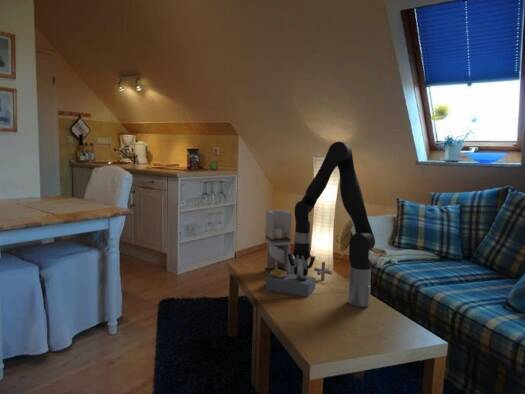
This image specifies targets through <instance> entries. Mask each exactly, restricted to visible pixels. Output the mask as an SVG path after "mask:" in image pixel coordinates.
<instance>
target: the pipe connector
mask: <svg viewBox="0 0 525 394" xmlns="http://www.w3.org/2000/svg"><path fill="white" fill-rule="evenodd" d="M313 271H315V272H317V273H316V275H317V276H320V281H322V282H325V277H326V276H325V274H326V275H330V276H332V275H333V271H330V269H329V267H326V261H321V268H319V267H314V268H313Z"/></svg>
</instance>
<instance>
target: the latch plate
mask: <svg viewBox="0 0 525 394" xmlns="http://www.w3.org/2000/svg"><path fill="white" fill-rule="evenodd" d="M289 273H290V271H289V272H286V271H283V270H280V269H278V268H275V269H274V270H272V271H271V272H270V274H271V275H274V276H276V277H279V278H281V279H284V278H285V277H286V276H288V275H289Z"/></svg>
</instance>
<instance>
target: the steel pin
mask: <svg viewBox="0 0 525 394" xmlns="http://www.w3.org/2000/svg"><path fill="white" fill-rule="evenodd" d="M304 269H305V268H304V265H303V260H302V258H298V262H297V278H296V281H303V282H305V276H304Z"/></svg>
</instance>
